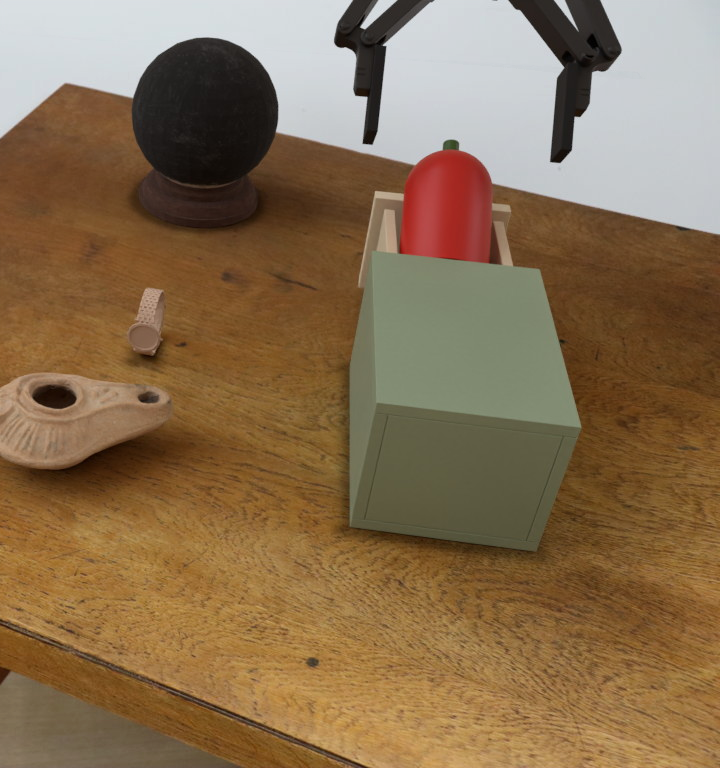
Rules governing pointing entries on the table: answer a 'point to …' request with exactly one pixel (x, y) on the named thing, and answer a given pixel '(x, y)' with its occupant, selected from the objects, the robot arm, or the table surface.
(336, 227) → the table surface
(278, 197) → the table surface
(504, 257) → the drawer
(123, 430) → the pottery oil lamp
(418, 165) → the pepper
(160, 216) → the black ball on stand
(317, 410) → the table surface
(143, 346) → the wristwatch
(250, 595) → the table surface
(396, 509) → the cabinet
